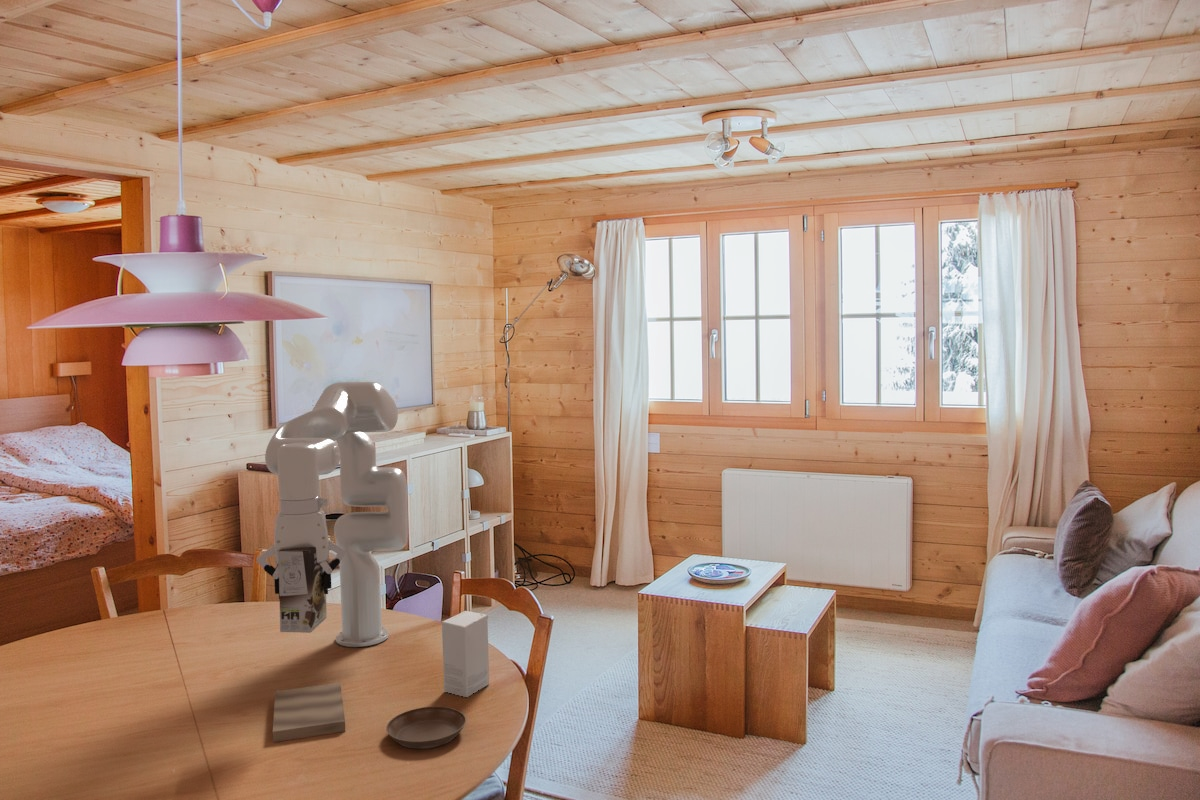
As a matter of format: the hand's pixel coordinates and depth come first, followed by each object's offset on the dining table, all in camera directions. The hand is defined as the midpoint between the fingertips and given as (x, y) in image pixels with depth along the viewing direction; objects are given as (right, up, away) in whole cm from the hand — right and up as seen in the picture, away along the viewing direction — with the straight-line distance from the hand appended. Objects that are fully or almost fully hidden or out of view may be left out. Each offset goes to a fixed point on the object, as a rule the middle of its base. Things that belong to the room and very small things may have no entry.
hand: (303, 594), depth 178 cm
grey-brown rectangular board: (0, -25, +2) cm, 25 cm away
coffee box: (0, -6, 0) cm, 6 cm away
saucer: (+26, -25, -7) cm, 37 cm away
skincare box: (+30, -23, +14) cm, 41 cm away
